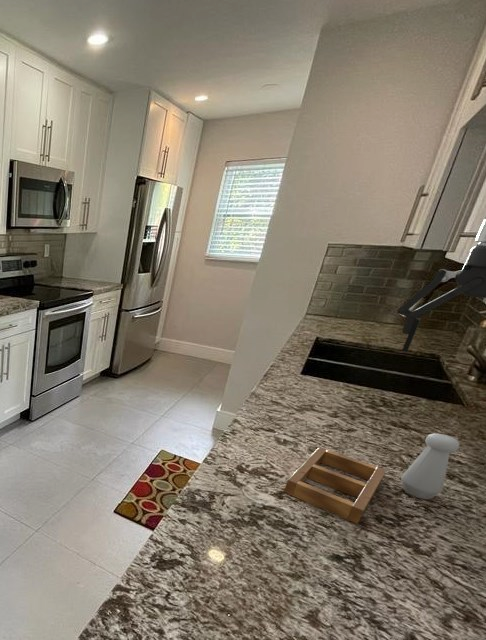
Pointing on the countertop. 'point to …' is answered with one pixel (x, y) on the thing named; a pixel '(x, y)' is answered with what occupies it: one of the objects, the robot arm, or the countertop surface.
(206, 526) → the countertop surface
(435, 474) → the salt shaker
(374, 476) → the frame
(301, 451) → the countertop surface
